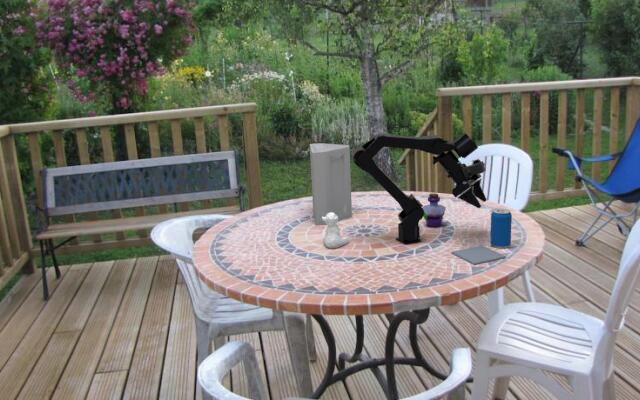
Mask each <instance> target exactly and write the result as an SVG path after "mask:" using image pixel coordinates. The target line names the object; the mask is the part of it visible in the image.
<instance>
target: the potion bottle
mask: <svg viewBox="0 0 640 400" xmlns="http://www.w3.org/2000/svg"><path fill="white" fill-rule="evenodd" d="M440 201H441V197H440V196H439V194H438V193H429V195H428V197H427V202H428V203H429V204H425V205H423V206H422V208H423V210H424V216H423V219H424V220H425V224H426V227H428V228H431V229H432V228H433V229H437V228H441V227H442V223H443V219H444V215H445V212H446V208H447V207H446V206H444V205H442V204H439V202H440Z"/></svg>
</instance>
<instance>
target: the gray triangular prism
mask: <svg viewBox="0 0 640 400" xmlns="http://www.w3.org/2000/svg"><path fill="white" fill-rule="evenodd" d="M309 155H310V156H309V158H310V159H309V160H310V177H311V179H310V180H311V194H312V195H311V197H312V213H313V219H314V223H315V226H328V224H326V223H325V221H323V220H322V217H325V216H326V214H328V213H332V212H333V213H335V214H336V215H337V216H338V222H341V221H345V220H347V219H349V218H350V219H351V218H352V217H353V210H352V209H353V208H352V207H353V205H352V183H351V182H352V180H351V177H352V176H351V175H352V174H351V149H350V145H348V144H337V143H335V144H334V143H321V142H319V143H309Z"/></svg>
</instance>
